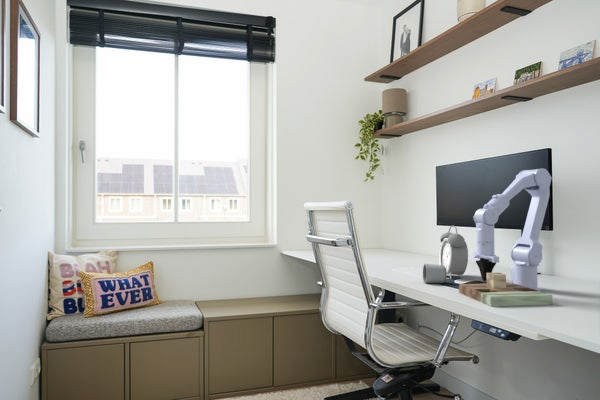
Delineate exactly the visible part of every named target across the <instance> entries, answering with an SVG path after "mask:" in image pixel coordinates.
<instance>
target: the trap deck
mask: <svg viewBox="0 0 600 400" xmlns="http://www.w3.org/2000/svg"><path fill="white" fill-rule="evenodd" d="M458 293H460V294H461V295H463V296H466V297H468V298H470V299H473V300H475V301H478V302H479V303H483V304H485V305H487V306H489V307H508V306H509V307H513V306H546V305H547V306H548V305H553V294H551V293H549V292H548V293H547V292H543V291H538V290H535V289H531V288H528V287H525V286H521V285H518V284H515V283H511V282H506V288H491V287H488V286H487V282H486V283H458Z"/></svg>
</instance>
